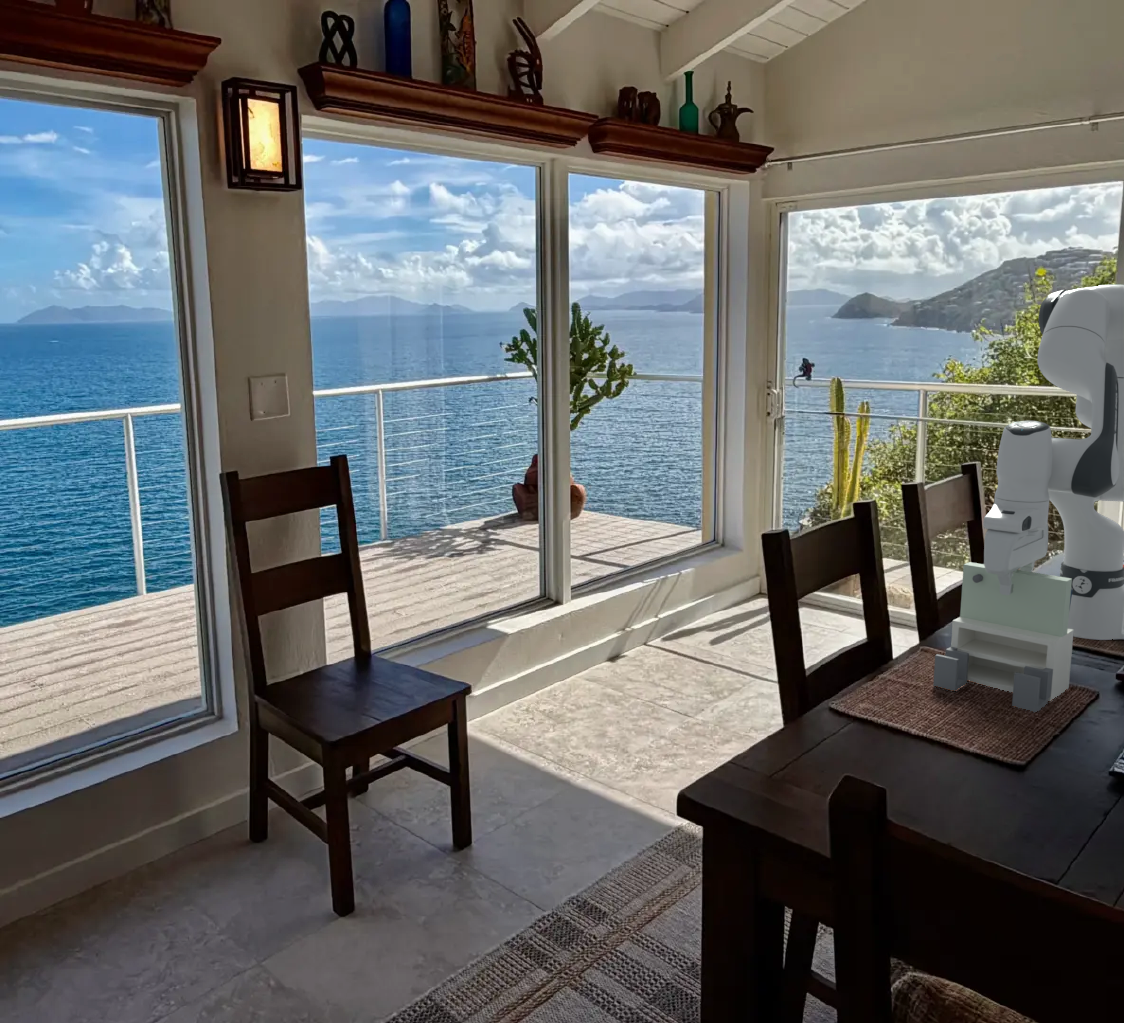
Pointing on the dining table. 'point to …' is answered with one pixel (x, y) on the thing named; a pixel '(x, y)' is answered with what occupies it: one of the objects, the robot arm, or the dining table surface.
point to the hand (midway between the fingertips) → (1014, 589)
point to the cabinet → (1006, 661)
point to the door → (1017, 600)
